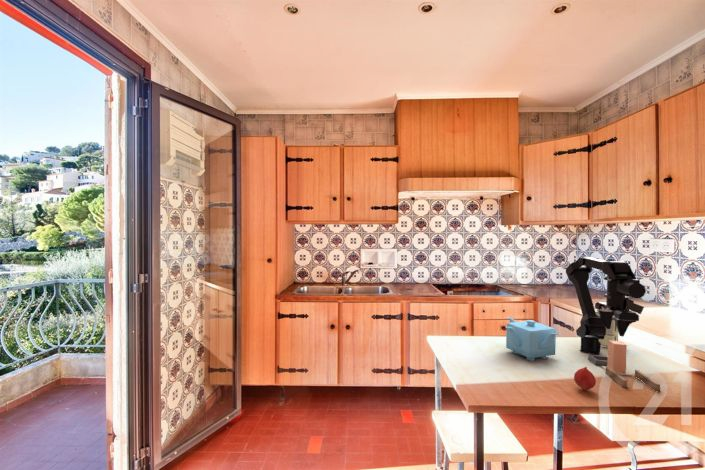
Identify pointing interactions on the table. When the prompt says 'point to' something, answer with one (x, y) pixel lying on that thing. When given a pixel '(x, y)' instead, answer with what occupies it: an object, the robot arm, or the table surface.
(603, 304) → the robot arm
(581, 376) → the onion
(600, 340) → the coffee can
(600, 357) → the tray
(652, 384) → the channel
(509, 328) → the blue lidded box
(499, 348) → the table surface
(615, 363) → the block
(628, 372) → the pad
